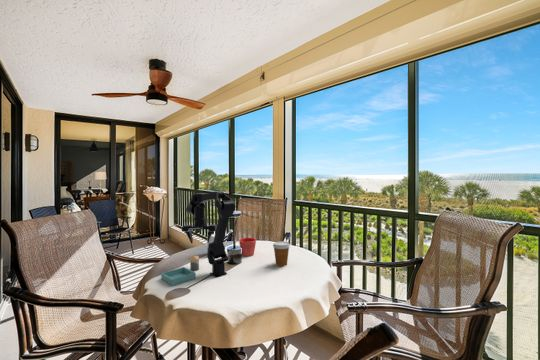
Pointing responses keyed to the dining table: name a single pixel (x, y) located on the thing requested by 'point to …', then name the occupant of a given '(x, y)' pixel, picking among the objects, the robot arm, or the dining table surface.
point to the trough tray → (178, 276)
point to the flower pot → (247, 246)
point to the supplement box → (210, 240)
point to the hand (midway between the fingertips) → (200, 243)
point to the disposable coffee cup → (281, 252)
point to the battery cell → (194, 263)
